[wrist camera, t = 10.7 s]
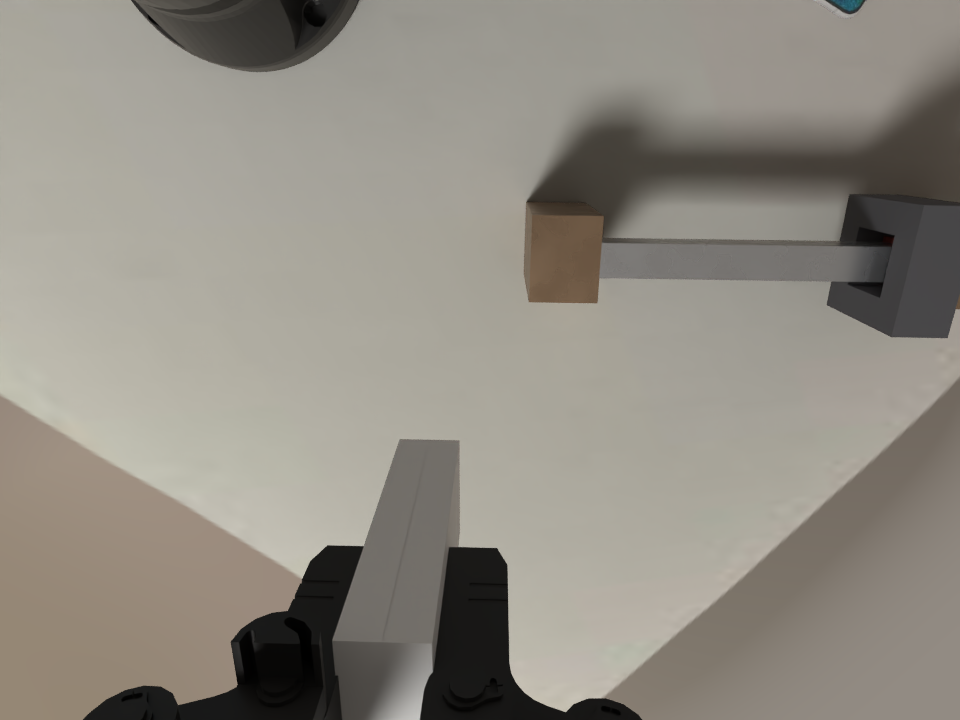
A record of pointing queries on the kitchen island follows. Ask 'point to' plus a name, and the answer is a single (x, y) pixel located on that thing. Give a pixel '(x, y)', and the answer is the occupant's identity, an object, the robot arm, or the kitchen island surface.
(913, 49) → the kitchen island surface
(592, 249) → the sliding collar rod
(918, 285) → the grey rectangular sleeve
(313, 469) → the kitchen island surface
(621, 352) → the kitchen island surface
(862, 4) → the smartphone
